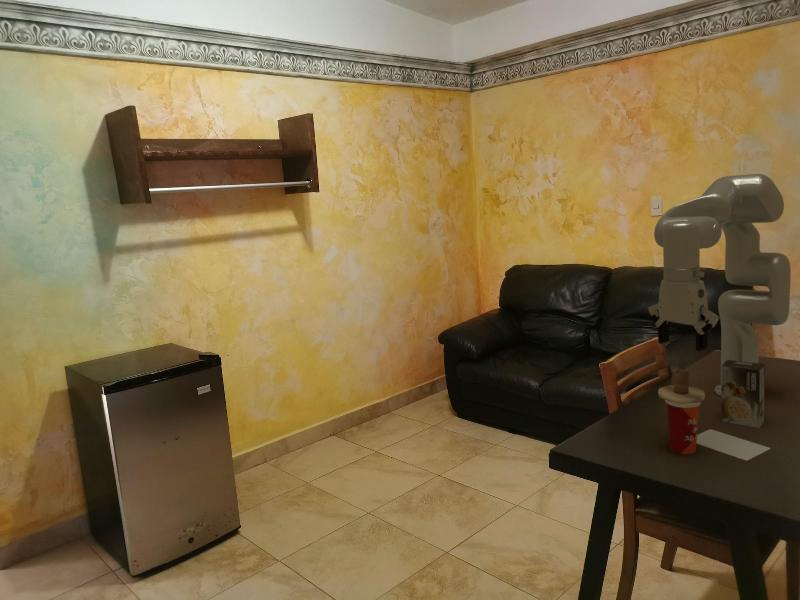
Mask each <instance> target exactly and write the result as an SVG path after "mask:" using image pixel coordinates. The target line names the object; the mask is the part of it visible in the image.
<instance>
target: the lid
mask: <svg viewBox="0 0 800 600" xmlns="http://www.w3.org/2000/svg"><path fill="white" fill-rule="evenodd" d="M689 376H690V373H689V371H688V370H685V369H674V370H673V384H672V385H666V386H662V387H659V389H658V391H657V393H658V397H659V398H660V399H662V400H664V401H665V400H666V401H670V402H675V403H697V402H702V401H704V400H705V398H706V397H705V391H704V390H703V389H700V388H699V387H695V386H690V385H689V380H690V378H689Z"/></svg>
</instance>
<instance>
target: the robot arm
mask: <svg viewBox="0 0 800 600" xmlns="http://www.w3.org/2000/svg"><path fill="white" fill-rule="evenodd" d="M784 209H785V203H784V197H783V195H782V193H781V191H780V190H779V189H778V187H777V186H776V184H775V182H774V181H773V180H772V179H771V178H770V177H769V176H767V175H766V174H762V173H753V174H752V173H751V174H750V173H749V174H739V175H738V174H737V175H727V176H723V177H722V176H721V177H720V178H717V179H716V180H715V181H713V182H712V183H711V184H710V186H709V187H707V189H706V190H704V192H703V193H702V194H701V196H698V197H695V198H693V199H689V200H688V201H685V202H681V203H680V204H678V205H675V206H672V207H670V208H669V209H667V211H666V212H665V213H663V214H662V215H661V216H660V218H659V219H658V220H657V223H656V225H655V227H654V231H653V232H654V233H653V238H654V240H655V243H656V245H658V246H659V247H661V248H662V249H663V250H662V252H663V253H662V254H663V255H662V256H663V260H662V261H663V279H662V280H661V282H660V287H659V293H658V303H656V304H653V305H651V306H648V308H647V309H648V313H649V314H650V317H651V320H652V321H653V322H654V324H655V327H657V338H658V344H664V343H667V342H669V341H670V326H669V324H668V323H669V322H670V323H673V324H674V323H675V324H681V325H688V326H693V328H694V329H695V331H696V332H697V333H696V334H695V351H697V352H701V351H704V350H706V349H707V348H708V344H709V342H708V338H709V337H708V336H709V334H708V333H710V332H711V331H712V330H713V329H714V328H715V327H716V325H717V323H718V322H719V320H720V327H721V328H720V331H721V336H720V337H721V344H720V346H721V347H720V349H721V351H720V352H721V353H720V384H719V385H717V386H715V388H714V393H715V394H716V395H718V396H719V397H721V398H722V365H723V364H724V362H726V361H727V360H733V361H742V362H751V363H759V345H760V343H759V341H760V340H759V335H758V332H757V331H756V330H755V328H754V327H753V326H752V325H753V324H754V325H755V324H756V325H765V326H767V325H769V326H781V325H784V324H785V323H786V322H787V320H788V318H789V315H790V303H791V302H790V300H791V299H790V297H791V276H792V275H791V262H790V259H789V258H788V257H787V255H786V254H783V253H780V252H762V251H761V244H760V243H761V235H760V232H759V231H758V230H759V229H757V227H756V226H755V224H761V223H762V224H765V223H766V224H767V223H774V222H777V221H778V220H779V219H780V218H781V217H782V215H783V213H784ZM722 232H723V234H724V240H725V249H724V250H725V251H724V252H725V256H724V275H725V279H726V281H727V282H728V284H731V285H735V286H736V285H737V286H745V287H746V286H747V287H748V286H749V287H750V286H752V287H766V288H768V290H755V289H729V290H726V291H724V292H723V293H722V294H720V296H719V298H718V301H717V307H718V314H719V315H718V314H716V313H714V312H713V311H711V310H710V309H709V305H708V298H707V296H708V295H707V290H706V286H705V282H704V280H701V278H704V277H705V272H704V271H701V267H700V264H701V263H700V260H701V259H700V258H701V257H700V256H701V255H700V250H701V249H703V250H704V249H709V248H712V247H714V246H715V245H716V244H717V243H718V242H720V239H721V237H722V235H723V234H722ZM707 321H708V322H707ZM751 324H752V325H751Z"/></svg>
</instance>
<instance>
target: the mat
mask: <svg viewBox="0 0 800 600" xmlns="http://www.w3.org/2000/svg"><path fill="white" fill-rule="evenodd" d="M696 445H698V446H699V445H700V446H703V447H705V448H709V449H712V450H713V451H716V452H719V453H722V454H726V455H729V456H731V457H734V458H737V459H740V460H743V461H747V462H748V461H750V460H752V459H753V458H755V457H758V456H759V455H761V454H764V453H765V452H767V451H769V450H771V449H772V448H771V447H769V446H765V445H762V444H759V443H755V442H752V441H750V440H747V439H743V438H739V437H737V436H733V435H730V434H727V433H724V432H721V431H717V430H714V429H708V430H704V431H703V432H700V433H699V434H698V433H697V442H696Z"/></svg>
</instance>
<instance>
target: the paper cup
mask: <svg viewBox="0 0 800 600" xmlns="http://www.w3.org/2000/svg"><path fill="white" fill-rule="evenodd" d="M664 401H665V403H666V411H667V412H666V413H667V425H668V427H667V428H668V439H669V449H670V450H671V452H673V453H676V454H680V455H691V454H694V453H696V451H697V444H696V442H697V435H698V431H699V430H698V428H699V427H698V426H699V414H700V413H699V411H700V405H702V404H701V403H702V401H700V402H697V403H675V402H670V401H666V400H664Z"/></svg>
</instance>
